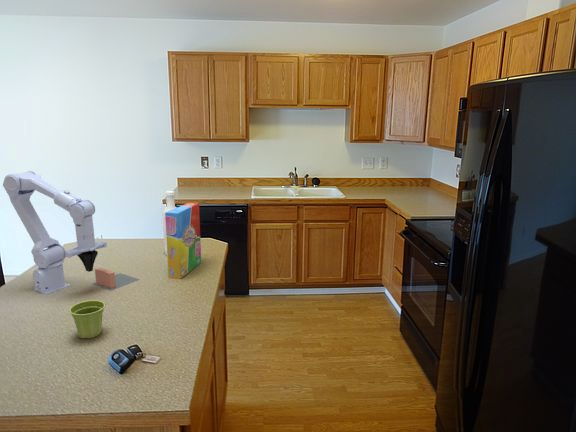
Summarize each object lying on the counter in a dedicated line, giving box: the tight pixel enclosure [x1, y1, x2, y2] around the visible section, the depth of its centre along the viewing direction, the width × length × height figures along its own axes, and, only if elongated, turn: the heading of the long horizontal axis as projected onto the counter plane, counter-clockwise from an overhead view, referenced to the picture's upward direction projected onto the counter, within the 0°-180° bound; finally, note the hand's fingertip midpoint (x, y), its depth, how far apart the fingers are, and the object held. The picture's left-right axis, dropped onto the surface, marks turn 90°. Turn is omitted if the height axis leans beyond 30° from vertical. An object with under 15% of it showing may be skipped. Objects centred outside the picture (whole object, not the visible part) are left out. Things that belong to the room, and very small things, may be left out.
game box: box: [165, 202, 202, 280], centre depth 168 cm, size 21×6×27 cm, turn 168°
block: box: [94, 267, 116, 289], centre depth 152 cm, size 2×9×6 cm, turn 59°
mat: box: [91, 272, 141, 292], centre depth 157 cm, size 13×12×1 cm
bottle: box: [162, 190, 178, 257], centre depth 187 cm, size 8×8×30 cm
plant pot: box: [68, 299, 106, 339], centre depth 119 cm, size 9×9×9 cm
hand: (89, 270), depth 146 cm, fingers closed
